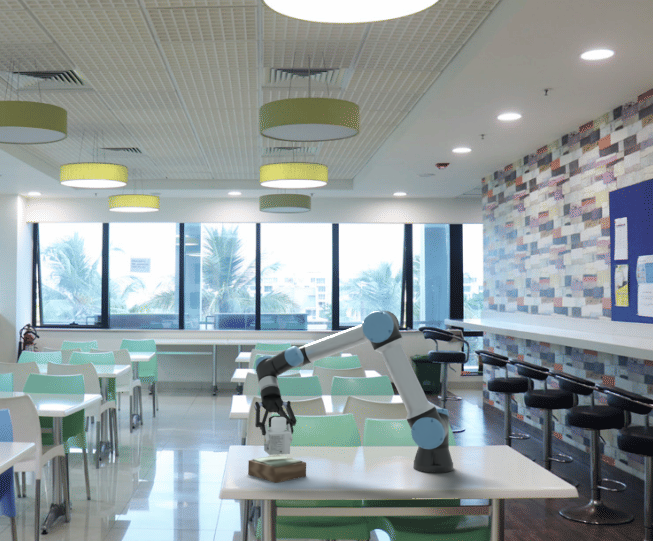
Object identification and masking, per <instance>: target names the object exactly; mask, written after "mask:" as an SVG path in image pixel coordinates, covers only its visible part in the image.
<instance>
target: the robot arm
mask: <svg viewBox="0 0 653 541" xmlns="http://www.w3.org/2000/svg"><path fill="white" fill-rule="evenodd" d="M402 341H403V335H402V334H401V331H400V321H399V319H398V318H397V316H396V315H395V313H393V312H391V311H388V310H382V309H377V310H374V311H372V312H370V313H368V314H367V315H365V317H364V319H363V321H362V323H360V324H359V325H355V326H353V327H350V328H347V329H344V330H342V331H340V332H337V333H334V334H331V335H330V336H329V335H328V336H326V337H323V338H321V339H318V340H316V341H313V342H310V343H307V344H305V345H302V346H296V345H293V346H290V347H289V348H286V349H285V350H283V351H281V352H280V353H278V354H276V355H274V356H271V355H261V356H259V357H258V358H257V359H256V361H255V373H256V375H257V381H258V387H259V392H260V397H261V398H260V399H261V402H259V401H255V402H254V405H253V406H254V409H255V428H259V430H261V431H260V432H261V436H264V435H265V439H266V444H269V441H270V438H269V433H268V430H269V426H268V424H266V422H267V418H268V415H269V413H271V414H272V413H276V414H277V416H284V417H286V419H287V423H286V429H285V430H287V431H288V432H290V444H292V442H293V440H294V439H293V434H294V427H296V424H297V422H298V421H297V419H296V416H295V414H294V410H293V409H292V407H291V405H292V404H291V400H288V401H287V402H286V401H284V400H283V399H282V395H281V390H280V384H279V380H278V376H280V375H282V374H284V373H287V372H288V371H290V370H292V369H296V368H301V367H304V366H307V365H309V364H311V363H315V362H317V361H319V360H322V359H325V358H327V357H330V356H333V355H336V354H338V353H339V354H340V353H342V352H344V351H347V350H350V349H353V348H356V347H358V346H361V345H363V344H367V343H370V344H371V346H372V348H373V351H374V352H376V353H379V354H380V356H381V358H382V360H383V362H384V364H385V366H386V369H387V370H388V371H387V372H388V373H389V375H390V377H391V380H392V382H393V384H394V386H395V388H396V390H397V393H398V395H399V396H400V399H401V401H402V403H403V405H404V407H405V410H406V412H407V415H406V418H405V419H406V421H407V423H408V425H409V428H410V430H411V431H410V433H411V434H410V436H411V438H412V440H413V442H414V443H415V445H417V446H418V447H417V450H416V453H415V456H414V459H413V469H414V470H417V471H419V472H425V473H436V474H437V473H449V472H452V471H453V470H454V461H453V458H452V456H451V452H450V448H449V447H450V446H449V445H450V444H449V443H450V439H449V438H450V434H449V433H450V432H449V431H450V422H449V421H450V414H449V410H448V409H447V408H437V407H436V406H435V404H432V403H430V402H429V400H428V398H427V395H426V394H425V392H424V389H423V388H422V385H421V382H420V381H419V379H418V376H417V375H416V373H415V371H414V368H413V367H412V365H411V362H410V360H409V357H408V356H407V354H406V352H405V350H404V348H403V345H402ZM283 407H284V408H283ZM261 408H264V410H265V411H264V414H263V418H262V420H261ZM284 409H285V410H284Z"/></svg>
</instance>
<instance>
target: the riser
mask: <svg viewBox="0 0 653 541" xmlns="http://www.w3.org/2000/svg"><path fill="white" fill-rule="evenodd" d="M247 469H248V473H247V475H249V476H253V477H256V478H259V479H262V480H266V481H269V482H272V483H276V484H277V483H283V482H285V481H286V482H287V481H290V480H297V479H301V478H306V477H307V462H306V461H303V460H300V459H297V458H292V457H289V456H284V455H282V454H278V455H269V456H263V457H256V458H252V459H250V460H248V468H247Z"/></svg>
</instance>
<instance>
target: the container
mask: <svg viewBox="0 0 653 541" xmlns="http://www.w3.org/2000/svg"><path fill="white" fill-rule="evenodd" d="M286 423H287V419H286V417H284V416H280V415H272V416H270V417H268V433H269V438H270V441H269V444H266V439H265V435H263V436H264V437H263V438H264V440H263V442H264V443H263V450H264V452H265V453H267V454H268V455H269V456H274V455H290V453H291V443H290V432H288V431H287V429H286V427H287V425H286Z"/></svg>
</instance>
